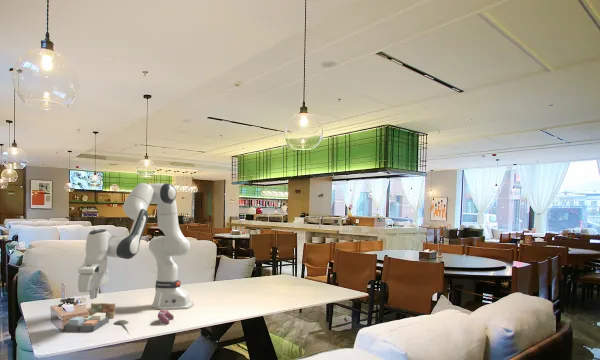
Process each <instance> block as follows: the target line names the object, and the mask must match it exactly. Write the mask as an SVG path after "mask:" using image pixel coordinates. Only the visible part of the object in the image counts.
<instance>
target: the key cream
mask: <svg viewBox="0 0 600 360" xmlns="http://www.w3.org/2000/svg"><path fill="white" fill-rule="evenodd" d="M105 317H106V313H96V314H94V315H92V316H91V320H98V321H101V320H103V319H104V318H105Z"/></svg>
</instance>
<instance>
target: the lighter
mask: <svg viewBox="0 0 600 360" xmlns="http://www.w3.org/2000/svg"><path fill="white" fill-rule="evenodd" d="M75 299H76V298H75V297H67V298H62V299H60V301H59V302H60V303H58V304H57V307H61V306H62V305H63V304H65V303H67V304H68V303H70V304H74V305H76V306H77V304H78V302H77V301H75Z"/></svg>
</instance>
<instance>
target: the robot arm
mask: <svg viewBox="0 0 600 360" xmlns="http://www.w3.org/2000/svg"><path fill="white" fill-rule="evenodd" d="M176 197H177V189H176V187H175V186H174V185H173V184H170V183H162V182H161V183H160V182H157V183H156V182H155V183H145V182H141V183H138V184H137V185H136V186H135V187H134V188H133V189H132V190H131V192H130V193H129V194H128V196H127V197H126V199H125V200H124V203H123V205H122V210H123V212H124V214H125V215H126V216H127V217H128V218H130V219H131V220H133V222H132V226H131V229H130V230H129V233H128V235H126V236H118V235H113V234H112V233H110V232H108V230H107V229H106V228H105V229H101V228H100V229H94V230H91V231H89V232H88V234H87V237H86V239H85V240H86V242H85V258H84V263H82V265H81V266H80V267H79V268H78V269H77V273H78V274H79V275H78V279H77V290H78V292H79V293H89V299H90V300H94V299H96V298H98V293H99V291H100V287H102V286H105V285H107V284H108V283H109V279H110V277H109V275H110V272H109V268H108V257H109V258H121V259H125V260H130V259H132V258H134V257H135V256H136V255H137V254H138V252H139V249H140V243H141V240H142V237H143V234H144V231H145V228H146V225H147V223H148V220H149V219H148V218H149V213H148V208H149V207H150V205H151V204H156V216H157V217H156V218H157V227H158V229H159V230H160V231H162V233H163V234H164V235H159V236H155V237H152V238H151V239H150V240H149V243H148V250H149V251H150V252H151V254H152V255H153V257H154V258H155V262H156V267H157V269H156V271H157V272H156V281H155V287H154V288H155V294H154V299H153V303H152V304H151V307H152V308H155V309H158V310H162V309H166V310H184V309H185V310H186V309H187V310H188V309H190V308H192V307H193V306H194V301H191V296H190V293H189V292H188V291H186V290H185V289H184V288H183V287H181V284H182V281H181V280H179V279H178V273H179V272H178V271H179V265H178V264H177V263H176V262H175V261H174V260H173V257H182V256H186V255H187V254H188V253H189V251H191V250H190V249H191V243H190V241H189V239H188V238H186V237H185V236H184V234H183V232H182V231H181V228H180V224H179V216H178V215H179V214H178V213H179V212H178V205H177V200H176Z"/></svg>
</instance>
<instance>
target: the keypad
mask: <svg viewBox="0 0 600 360" xmlns="http://www.w3.org/2000/svg"><path fill="white" fill-rule="evenodd" d="M89 320H91V319H89ZM109 320H110V318H109V317H105V318H104V319H103V320H101V321H98V323H96V324H94V325H83V323H84V322H86V321H88V320H84V322H83V323H81V324H79V325H68V323H66V324H64V325H63V333H64V332H65V333H93V332H95V331H97V330H99V329H100V328H101V327H104V326H105V325H106V324H108V323H109V322H110V321H109Z"/></svg>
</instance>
